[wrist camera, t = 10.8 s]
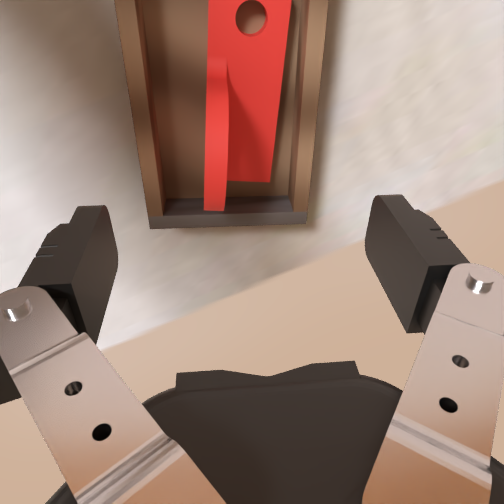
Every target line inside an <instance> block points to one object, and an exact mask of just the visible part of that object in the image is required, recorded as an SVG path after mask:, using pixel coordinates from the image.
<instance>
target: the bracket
mask: <svg viewBox="0 0 504 504" xmlns="http://www.w3.org/2000/svg"><path fill="white" fill-rule="evenodd" d="M245 1H247V0H209V3H208V49H207V89H206V130H205V176H204V210H207V211H224V206H225V197H226V183H227V181H250V182H270V176H271V168H272V159H273V151H274V143H275V134H276V126H277V118H278V109H279V101H280V93H281V85H282V76H283V68H284V60H285V51H286V43H287V35H288V26H289V18H290V10H291V1H292V0H256V1H259V2H260V3H261V4H262V5H263V7H264V10H265V15H266V17H265V22H264V25H263V27H262V28H261V29H260V30H259V31H258V32H256V33H253V34H247V33H244V32H242V31H241V30H240V29H239V28H238V27H237V25H236V21H235V16H236V11H237V9H238V7H239V6H240V5H241V4H242V3H243V2H245Z"/></svg>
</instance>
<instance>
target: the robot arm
mask: <svg viewBox="0 0 504 504" xmlns="http://www.w3.org/2000/svg"><path fill="white" fill-rule="evenodd" d="M365 251H366V255H367V258H368V260H369V262H370V264H371V266H372V268H373V269H374V271H375V273H376V275H377V277H378V279H379V281H380V283H381V285H382V287H383V289H384V291H385V292H386V294H387V296H388V298H389V300H390V302H391V304H392V306H393V308H394V310H395V312H396V313H397V315H398V317H399V319H400V321H401V323H402V325H403V327H404V329H405V331H406V333H420V332H423V333H424V335H425V336H424V339H423V341H422V344H421V346H420V349H419V352H418V354H417V357H416V360H415V362H414V365H413V367H412V369H411V372H410V375H409V377H408V380H407V382H406V385H405V387H404V390H403V391H402V390H400V389H399V388H397V387H395V386H393V385H391V384H389V383H387V382H384V381H381V380H379V379H376V378H372V377H368V376H365V375H360V374H359V372H358V369H357V366H356V364H355V361H345V362H330V363H315V364H309V365H306V366H303V367H299V368H296V369H293V370H290V371H287V372H283V373H280V374H276V375H273V376H259V375H252V374H245V373H239V372H232V371H225V370H213V371H198V372H184V373H177V375H176V387H175V388H172V389H168V390H166V391H164V392H161V393H159V394H157V395H155V396H153V397H151V398H149V399H148V400H146V401H145V402H143V403H142V404H141V402H140V401H139V400H138V399H137V397H136V396H135V395H134V393H133V392H132V391H131V390H130V388H129V387H128V386H127V385H126V383H125V382H124V381H123V379H122V378H121V377H120V376H119V374H118V373H117V372H116V370H115V369H114V368H113V367H112V365H111V364H110V363H109V361H108V360H107V359H106V358H105V356H104V355H103V354H102V352H101V351H100V350H99V349H98V347H97V346H96V343H97V340H98V336H99V333H100V329H101V326H102V322H103V318H104V315H105V311H106V308H107V304H108V301H109V297H110V294H111V290H112V286H113V283H114V279H115V276H116V272H117V268H118V251H117V246H116V242H115V238H114V233H113V229H112V225H111V220H110V216H109V212H108V209H107V207H106V206H105V205H99V206H78V207H77V209H76V211H75V213H74V215H73V217H72V219H71V221H70V223H69V224H60V225H58V226H57V227H56V228H55V229H53V230H52V231H51V232H50V233H48V234H47V236H46V238H45V239H44V241H43V243H42V245H41V248H39V250H38V252H37V254H36V258H34V259H33V261H32V262H31V264H30V266H29V268H28V270H27V271H26V273H25V275H24V277H23V278H22V280H21V282H20V284H19V286H18V287H17V288H13V289H10V290H8V291H5V292H3V293H1V294H0V404H3V403H6V402H9V401H12V400H15V399H18V398H21V397H22V398H23V400H24V402H25V404H26V406H27V408H28V410H29V411H30V413H31V415H32V417H33V419H34V421H35V423H36V425H37V427H38V429H39V431H40V432H41V434H42V436H43V438H44V440H45V442H46V444H47V446H48V448H49V449H50V451H51V453H52V455H53V457H54V459H55V461H56V463H57V465H58V467H59V469H60V471H61V473H62V474H63V476H64V478H65V480H66V482H65V483H64V484H63V485H62V486H61V487H60V488H59V489H58V491H57V492H56V493H55V494H54V495H53V496H52V497H51V498H50V499H49V500H48V501H47V502H46V503H45V504H504V465H503V464H501V463H500V462H499V461H497V460H496V459H495V458H493V457H492V456H491V451H492V445H493V439H494V433H495V427H496V421H497V415H498V408H499V402H500V396H501V390H502V384H503V378H504V276H503V275H502V274H500V273H499V272H497V271H495V270H493V269H491V268H488V267H486V266H483V265H479V264H472V263H470V262H469V261H468V260H467V259H466V257H465V256H464V255H463V254H462V253H461V251H460V250H459V249H458V248H457V247H456V246H455V244H454V243H453V242H452V241H451V240H450V239H448V236H447V235H446V234H445V233H444V231H442V230H441V228H440V227H439V225H438V224H437V223H436V222H435V221H434V219H433V218H431V217H430V216H428V215H426V214H425V213H423V212H422V211H420V210H414V209H413V208H412V206H411V205H410V204H409V203H408V201H407V200H406V199H405V198H404V196H403V195H377V196H375V198H374V200H373V203H372V207H371V212H370V217H369V222H368V227H367V232H366V237H365Z"/></svg>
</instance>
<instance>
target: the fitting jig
mask: <svg viewBox="0 0 504 504" xmlns="http://www.w3.org/2000/svg"><path fill="white" fill-rule="evenodd" d="M114 1H115V8H116V14H117V21H118V27H119V33H120V40H121V46H122V53H123V59H124V65H125V72H126V78H127V85H128V91H129V97H130V104H131V110H132V117H133V123H134V129H135V136H136V142H137V149H138V155H139V161H140V168H141V174H142V181H143V187H144V193H145V200H146V206H147V213H148V219H149V225H150V229H167V228H196V227H225V226H255V225H284V224H306V221H307V211H308V201H309V191H310V181H311V171H312V161H313V151H314V141H315V131H316V121H317V111H318V101H319V91H320V81H321V71H322V61H323V51H324V41H325V31H326V21H327V11H328V1H329V0H292V1H291V10H290V18H289V26H288V35H287V43H286V51H285V60H284V68H283V76H282V85H281V93H280V101H279V109H278V118H277V126H276V134H275V143H274V151H273V159H272V168H271V176H270V182H250V181H227V183H226V197H225V206H224V211H207V210H204V176H205V130H206V89H207V49H208V3H209V0H114ZM265 17H266V15H265V10H264V7H263V5H262V4H261V3H260V2H259V1H256V0H247V1H245V2H243V3H242V4H241V5H240V6H239V7H238V9H237V11H236V16H235V21H236V25H237V27H238V28H239V29H240V30H241V31H242V32H244V33H247V34H253V33H256V32H258V31H259V30H260V29H261V28H262V27H263V25H264V22H265Z"/></svg>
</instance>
